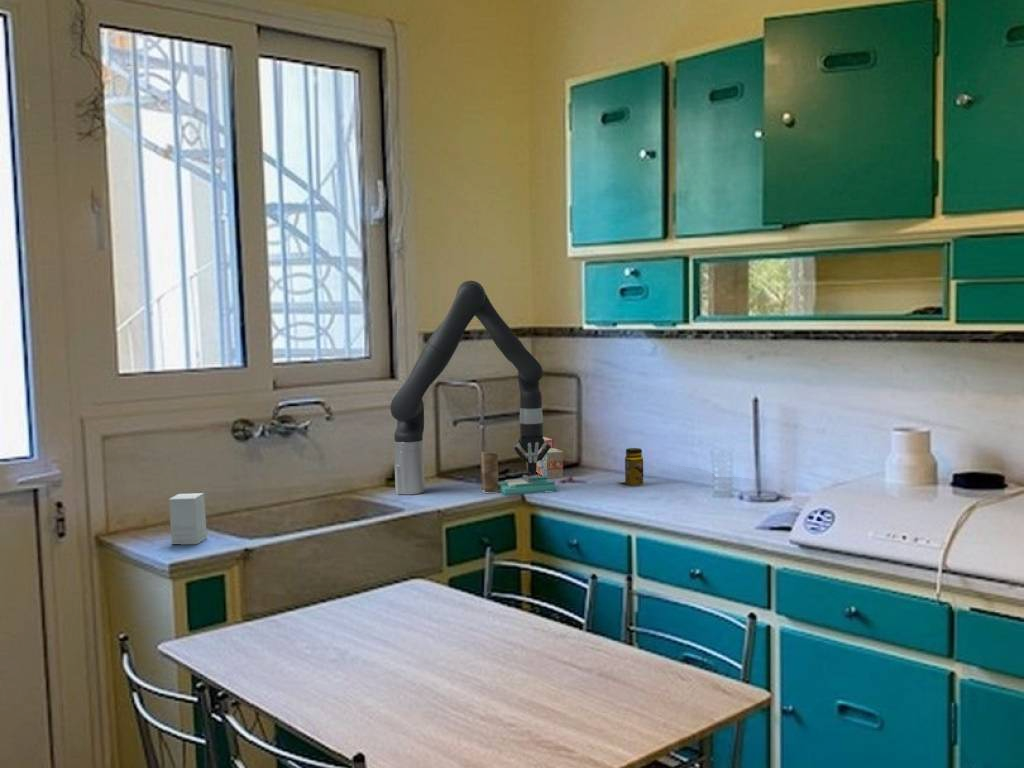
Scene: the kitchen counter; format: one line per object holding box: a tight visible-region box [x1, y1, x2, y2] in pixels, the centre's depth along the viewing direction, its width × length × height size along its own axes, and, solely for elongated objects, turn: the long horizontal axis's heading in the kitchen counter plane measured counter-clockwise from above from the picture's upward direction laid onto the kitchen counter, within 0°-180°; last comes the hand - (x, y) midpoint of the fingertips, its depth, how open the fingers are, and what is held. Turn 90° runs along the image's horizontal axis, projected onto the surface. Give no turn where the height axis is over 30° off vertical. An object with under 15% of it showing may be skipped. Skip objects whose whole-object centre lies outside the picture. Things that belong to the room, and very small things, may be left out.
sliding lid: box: [504, 474, 533, 487], centre depth 331 cm, size 8×8×2 cm
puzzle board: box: [498, 476, 557, 496], centre depth 331 cm, size 17×12×3 cm
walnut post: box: [480, 450, 500, 493], centre depth 330 cm, size 4×4×13 cm
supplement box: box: [168, 492, 208, 545], centre depth 272 cm, size 7×7×13 cm
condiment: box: [616, 447, 647, 488], centre depth 336 cm, size 7×8×12 cm
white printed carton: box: [536, 436, 564, 479], centre depth 362 cm, size 21×6×12 cm, turn 19°
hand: (532, 473), depth 332 cm, fingers closed
